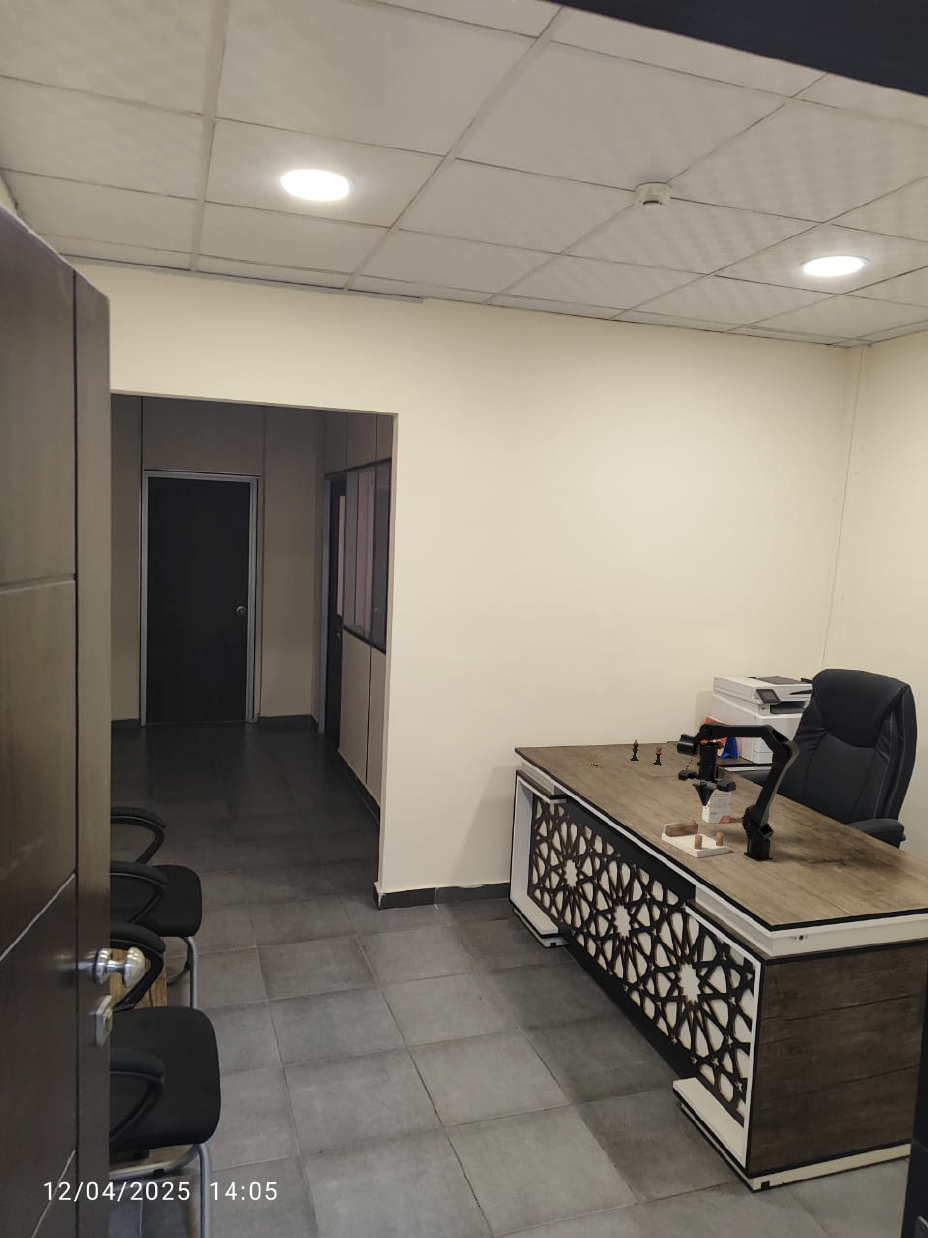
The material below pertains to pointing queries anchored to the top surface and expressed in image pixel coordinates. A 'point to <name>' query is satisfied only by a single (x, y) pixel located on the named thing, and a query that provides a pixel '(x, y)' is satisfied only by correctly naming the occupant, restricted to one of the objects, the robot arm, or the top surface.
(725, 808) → the ink cartridge box
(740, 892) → the top surface
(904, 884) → the top surface
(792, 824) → the top surface
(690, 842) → the white peg board
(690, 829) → the hinged leg
